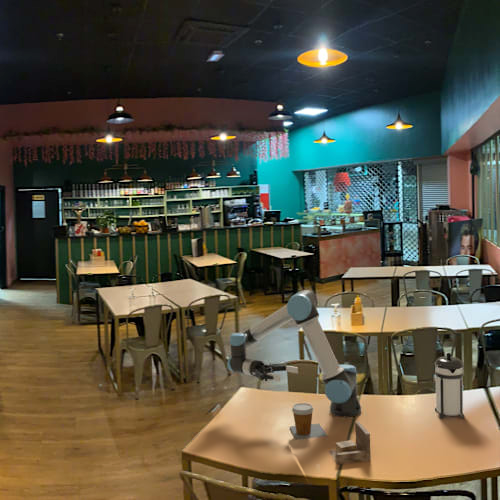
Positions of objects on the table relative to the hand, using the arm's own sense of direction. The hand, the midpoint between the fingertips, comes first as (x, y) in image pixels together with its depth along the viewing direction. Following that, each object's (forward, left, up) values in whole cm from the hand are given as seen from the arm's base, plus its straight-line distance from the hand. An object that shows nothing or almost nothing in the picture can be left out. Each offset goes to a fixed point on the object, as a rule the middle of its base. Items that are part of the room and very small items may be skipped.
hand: (288, 374), depth 253 cm
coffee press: (-76, +3, -25) cm, 81 cm away
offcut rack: (-16, +35, -25) cm, 46 cm away
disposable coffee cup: (-4, +9, -25) cm, 26 cm away
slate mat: (-6, +8, -25) cm, 27 cm away
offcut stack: (-15, +36, -24) cm, 46 cm away
